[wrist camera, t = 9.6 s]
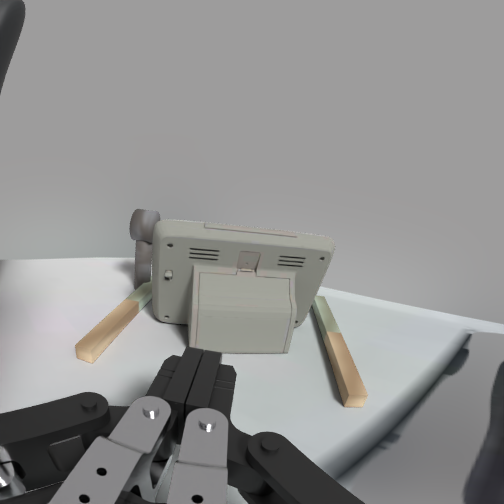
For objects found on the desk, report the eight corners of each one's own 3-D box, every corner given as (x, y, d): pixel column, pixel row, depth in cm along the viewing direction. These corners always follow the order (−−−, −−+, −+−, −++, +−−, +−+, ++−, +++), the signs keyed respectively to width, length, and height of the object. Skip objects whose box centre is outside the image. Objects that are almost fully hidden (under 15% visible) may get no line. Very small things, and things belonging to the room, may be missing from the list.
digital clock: (306, 322, 33) (325, 229, 31) (323, 367, 25) (353, 248, 22) (162, 303, 33) (168, 207, 30) (136, 343, 24) (138, 219, 21)
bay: (56, 350, 20) (44, 232, 17) (142, 276, 39) (146, 205, 37) (362, 407, 19) (405, 288, 17) (322, 305, 39) (337, 233, 36)
